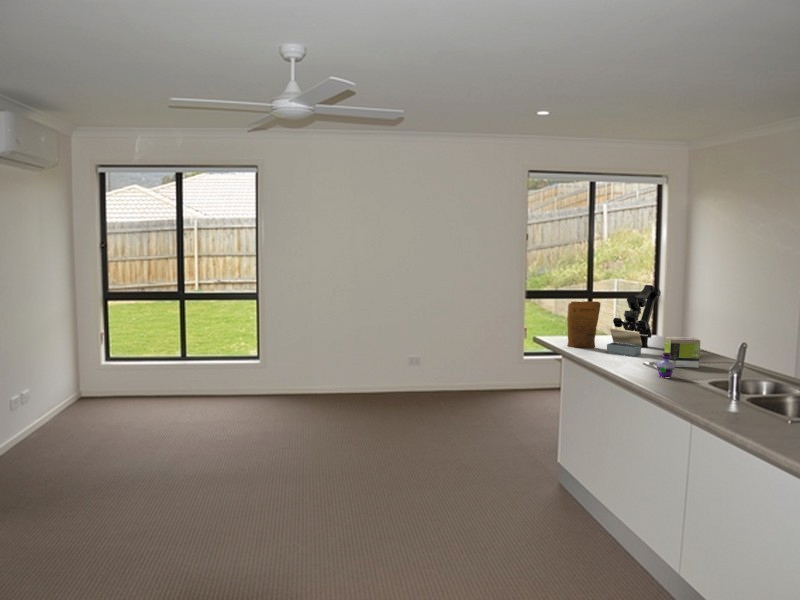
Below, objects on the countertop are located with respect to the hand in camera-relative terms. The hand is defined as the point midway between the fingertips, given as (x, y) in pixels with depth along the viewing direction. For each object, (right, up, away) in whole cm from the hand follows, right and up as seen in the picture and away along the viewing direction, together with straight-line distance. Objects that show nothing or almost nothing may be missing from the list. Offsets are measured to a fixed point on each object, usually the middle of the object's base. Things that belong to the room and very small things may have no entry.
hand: (625, 335), depth 362 cm
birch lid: (0, -1, 0) cm, 1 cm away
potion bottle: (-1, -17, -57) cm, 59 cm away
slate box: (-1, -11, 0) cm, 11 cm away
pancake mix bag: (-21, -9, +17) cm, 28 cm away
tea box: (+19, -15, -29) cm, 37 cm away
